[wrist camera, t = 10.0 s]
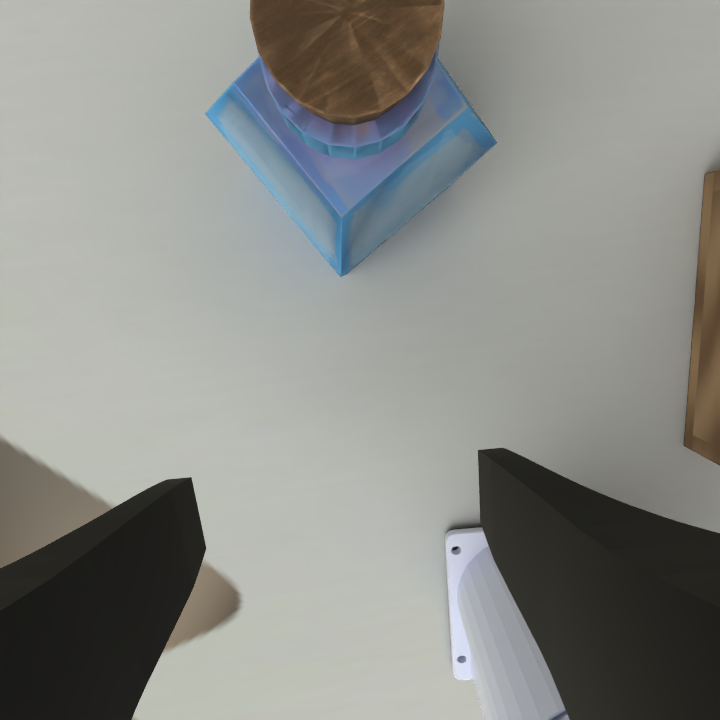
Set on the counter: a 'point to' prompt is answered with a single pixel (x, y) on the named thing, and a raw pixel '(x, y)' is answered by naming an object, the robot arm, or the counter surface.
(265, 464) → the counter surface
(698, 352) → the walnut tray
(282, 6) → the perfume bottle
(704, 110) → the counter surface
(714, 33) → the counter surface
